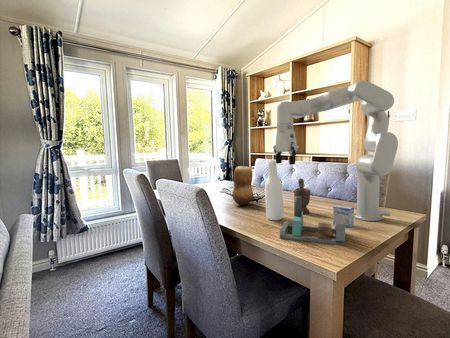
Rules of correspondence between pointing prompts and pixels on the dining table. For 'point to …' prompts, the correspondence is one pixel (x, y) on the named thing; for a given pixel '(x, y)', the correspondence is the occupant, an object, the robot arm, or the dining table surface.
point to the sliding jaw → (297, 216)
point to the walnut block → (324, 230)
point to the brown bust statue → (303, 195)
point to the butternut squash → (242, 185)
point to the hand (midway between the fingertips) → (285, 163)
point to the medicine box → (344, 214)
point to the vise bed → (338, 231)
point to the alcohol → (273, 193)
